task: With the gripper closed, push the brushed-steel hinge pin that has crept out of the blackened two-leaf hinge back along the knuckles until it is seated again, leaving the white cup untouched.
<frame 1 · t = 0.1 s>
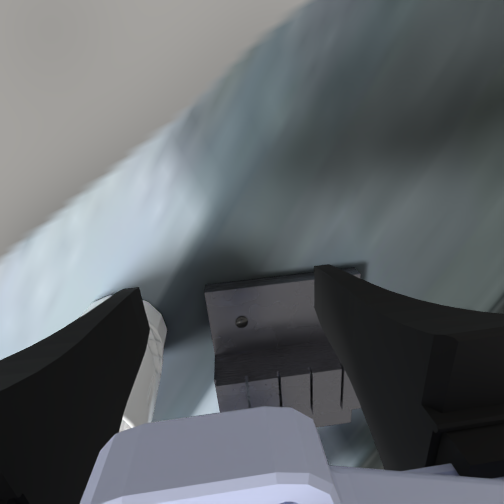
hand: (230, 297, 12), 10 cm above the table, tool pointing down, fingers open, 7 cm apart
hinge pin: (370, 363, 25), point 2 cm above the table, slide at 6.0 cm
white cup: (125, 327, 24), on the table
hinge leaves: (284, 356, 26), on the table
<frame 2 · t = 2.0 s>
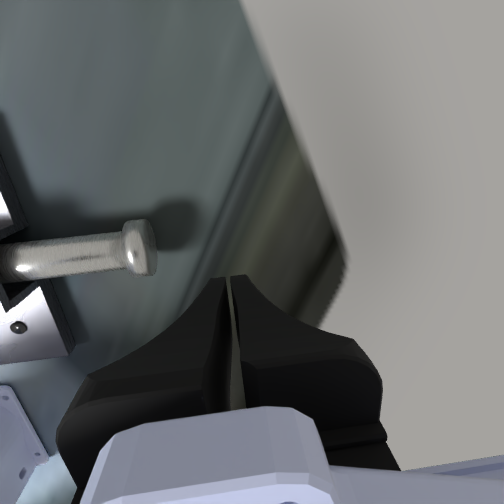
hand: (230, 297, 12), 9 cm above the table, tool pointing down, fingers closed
hinge pin: (35, 260, 18), point 2 cm above the table, slide at 6.0 cm
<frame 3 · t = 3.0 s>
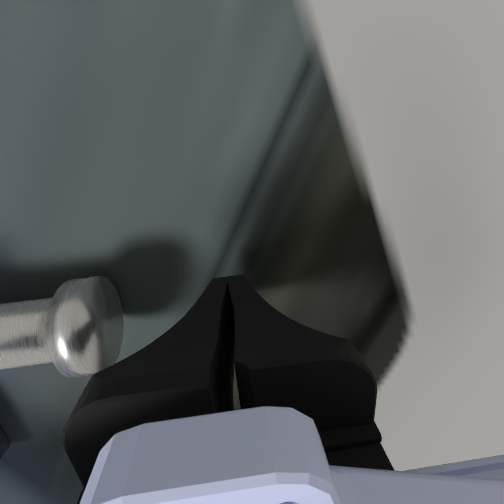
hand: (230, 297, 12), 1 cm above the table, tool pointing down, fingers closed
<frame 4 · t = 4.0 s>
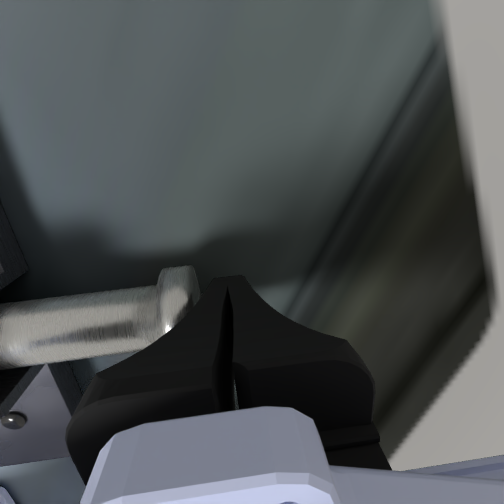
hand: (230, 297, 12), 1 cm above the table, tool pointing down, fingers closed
hinge pin: (8, 335, 11), point 2 cm above the table, slide at 4.9 cm, touching gripper
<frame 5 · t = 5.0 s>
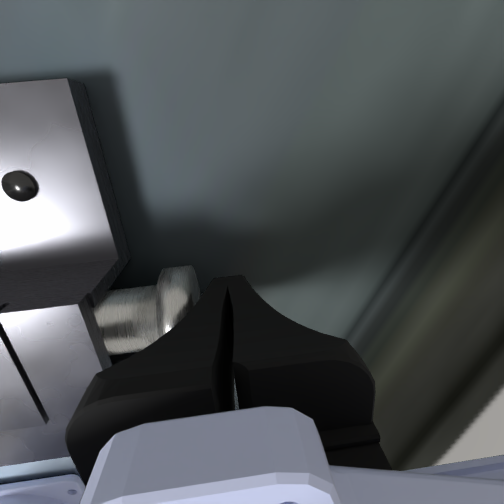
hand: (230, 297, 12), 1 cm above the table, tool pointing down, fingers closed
hinge pin: (8, 335, 11), point 2 cm above the table, slide at 0.7 cm, touching gripper
hinge leaves: (1, 309, 13), on the table
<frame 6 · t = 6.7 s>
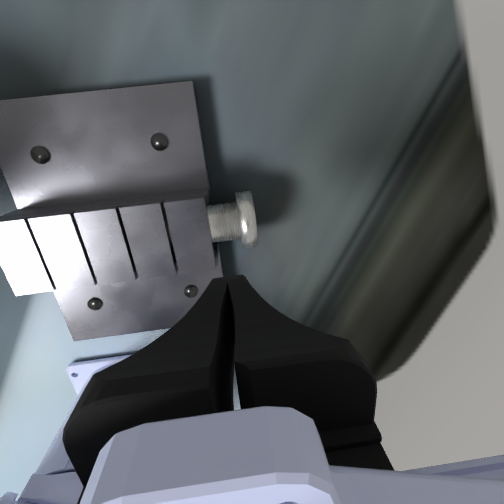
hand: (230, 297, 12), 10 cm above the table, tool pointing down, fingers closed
hinge pin: (145, 232, 19), point 2 cm above the table, slide at 0.6 cm
hinge leaves: (129, 225, 21), on the table
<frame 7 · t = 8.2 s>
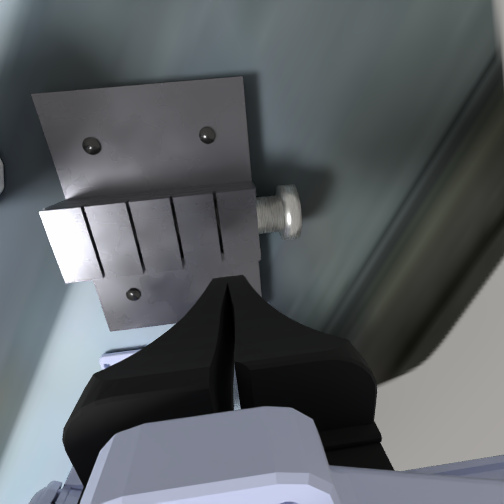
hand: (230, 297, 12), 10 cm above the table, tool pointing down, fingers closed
hinge pin: (189, 223, 19), point 2 cm above the table, slide at 0.6 cm
hinge leaves: (169, 217, 21), on the table
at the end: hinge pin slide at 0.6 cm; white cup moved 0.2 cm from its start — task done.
